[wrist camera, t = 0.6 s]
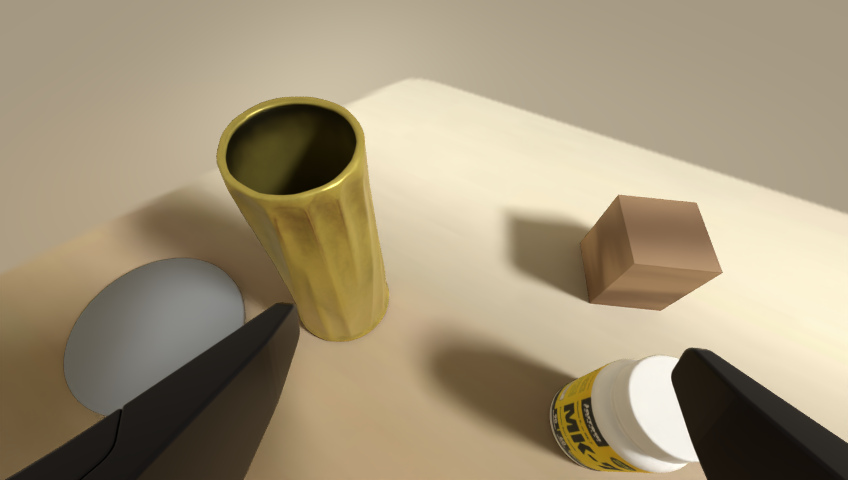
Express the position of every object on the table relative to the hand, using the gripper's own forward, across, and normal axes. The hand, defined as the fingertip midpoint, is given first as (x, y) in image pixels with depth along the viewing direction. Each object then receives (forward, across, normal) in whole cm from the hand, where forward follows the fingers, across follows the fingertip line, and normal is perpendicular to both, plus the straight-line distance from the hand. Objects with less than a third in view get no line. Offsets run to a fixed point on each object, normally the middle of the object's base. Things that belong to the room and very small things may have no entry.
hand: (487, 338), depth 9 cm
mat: (+10, +18, +12) cm, 24 cm away
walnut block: (+17, -13, +9) cm, 23 cm away
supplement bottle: (+8, -9, +14) cm, 18 cm away
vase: (+13, +7, +11) cm, 18 cm away
